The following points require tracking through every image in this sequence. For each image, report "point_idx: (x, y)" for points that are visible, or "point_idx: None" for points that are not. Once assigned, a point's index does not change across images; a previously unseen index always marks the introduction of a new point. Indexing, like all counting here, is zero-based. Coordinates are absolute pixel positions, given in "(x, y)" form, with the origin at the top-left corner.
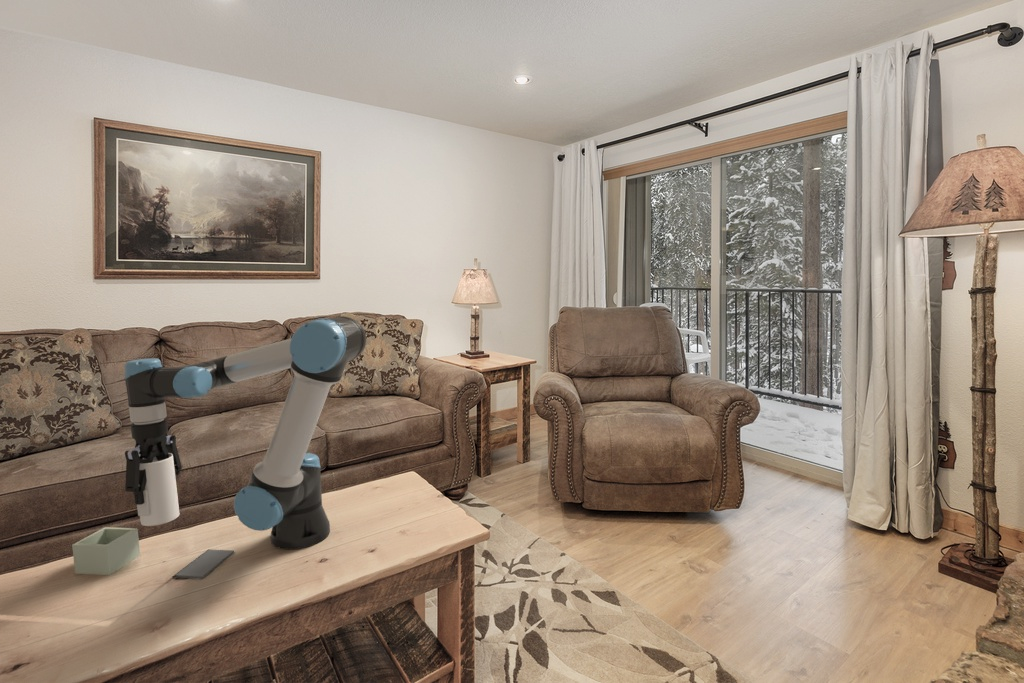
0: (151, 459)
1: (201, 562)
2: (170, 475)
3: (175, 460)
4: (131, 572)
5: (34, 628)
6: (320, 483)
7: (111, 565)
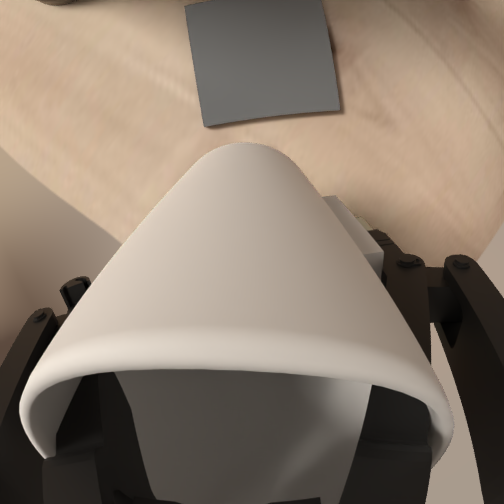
0: (383, 476)
1: (261, 36)
2: (209, 199)
3: (30, 369)
4: (333, 189)
5: (493, 201)
6: None
7: (364, 227)
